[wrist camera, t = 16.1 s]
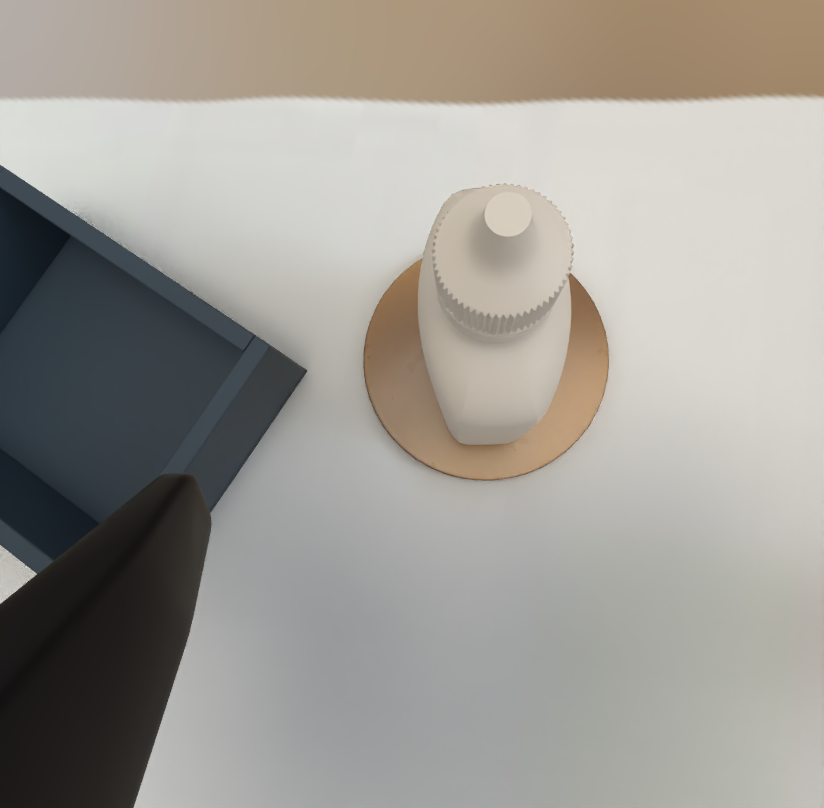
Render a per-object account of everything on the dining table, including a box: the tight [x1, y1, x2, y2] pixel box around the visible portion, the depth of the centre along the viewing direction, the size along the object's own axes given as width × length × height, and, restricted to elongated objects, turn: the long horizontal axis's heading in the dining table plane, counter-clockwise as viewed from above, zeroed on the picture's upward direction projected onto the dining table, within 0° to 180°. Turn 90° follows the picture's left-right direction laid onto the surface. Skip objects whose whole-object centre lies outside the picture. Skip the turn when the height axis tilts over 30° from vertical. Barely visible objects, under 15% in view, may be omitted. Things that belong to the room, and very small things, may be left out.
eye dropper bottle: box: [418, 184, 574, 445], centre depth 15 cm, size 4×6×12 cm
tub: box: [0, 165, 307, 574], centre depth 20 cm, size 11×9×4 cm
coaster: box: [364, 258, 609, 480], centre depth 21 cm, size 8×8×1 cm
